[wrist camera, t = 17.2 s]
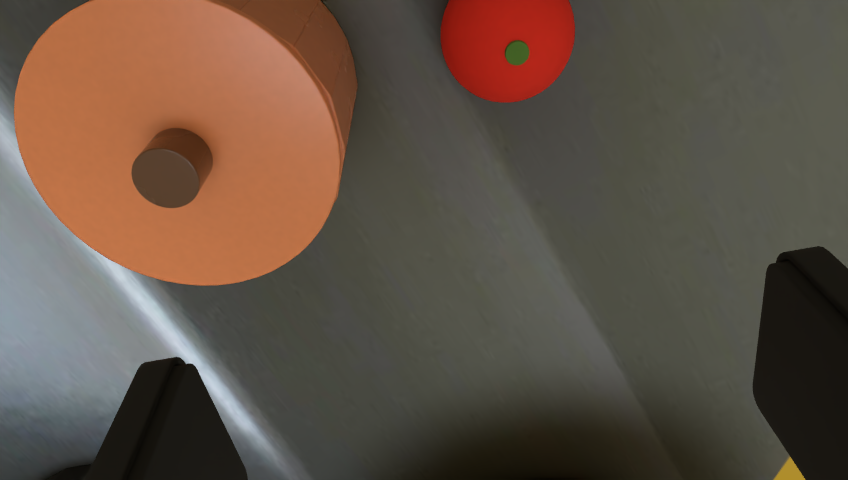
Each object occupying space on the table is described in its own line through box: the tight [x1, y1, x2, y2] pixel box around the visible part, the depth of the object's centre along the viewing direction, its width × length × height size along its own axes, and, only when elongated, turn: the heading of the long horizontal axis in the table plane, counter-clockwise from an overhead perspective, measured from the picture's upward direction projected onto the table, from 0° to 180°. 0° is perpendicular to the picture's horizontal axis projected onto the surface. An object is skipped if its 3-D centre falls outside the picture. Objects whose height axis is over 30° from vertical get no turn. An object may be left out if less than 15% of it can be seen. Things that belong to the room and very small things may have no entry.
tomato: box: [441, 0, 575, 102], centre depth 29 cm, size 6×6×6 cm
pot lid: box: [14, 0, 341, 286], centre depth 25 cm, size 12×12×3 cm
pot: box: [218, 0, 358, 204], centre depth 29 cm, size 11×11×9 cm
